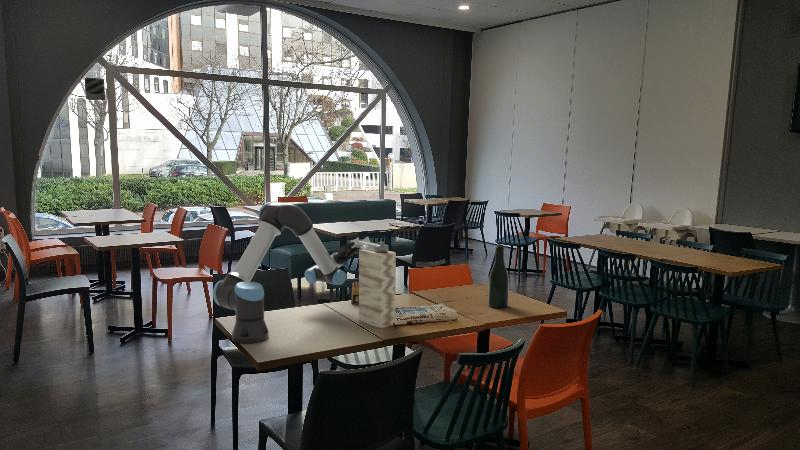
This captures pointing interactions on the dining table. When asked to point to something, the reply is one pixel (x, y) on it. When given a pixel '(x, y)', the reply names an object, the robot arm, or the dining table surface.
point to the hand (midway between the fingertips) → (363, 239)
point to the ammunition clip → (355, 294)
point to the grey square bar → (373, 246)
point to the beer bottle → (498, 281)
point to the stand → (377, 288)
